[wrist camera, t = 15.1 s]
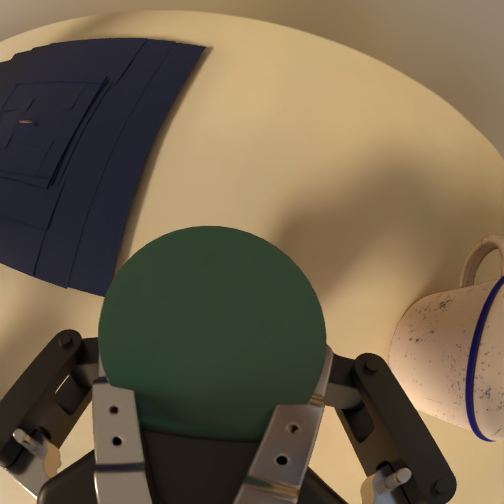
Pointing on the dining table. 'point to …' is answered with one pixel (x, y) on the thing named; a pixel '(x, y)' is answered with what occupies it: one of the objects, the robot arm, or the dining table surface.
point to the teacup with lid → (457, 350)
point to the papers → (79, 150)
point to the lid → (212, 332)
